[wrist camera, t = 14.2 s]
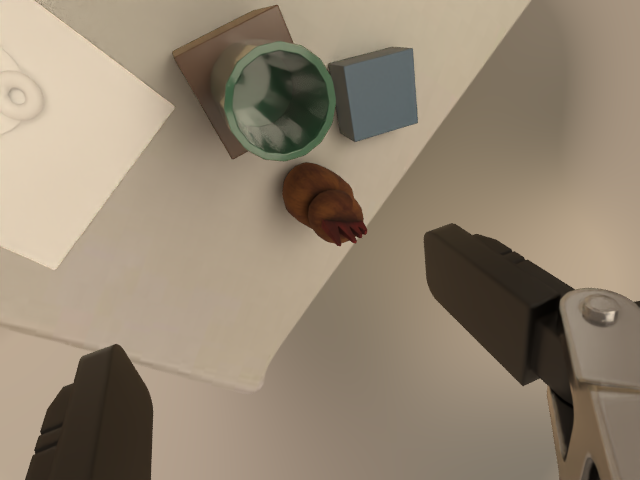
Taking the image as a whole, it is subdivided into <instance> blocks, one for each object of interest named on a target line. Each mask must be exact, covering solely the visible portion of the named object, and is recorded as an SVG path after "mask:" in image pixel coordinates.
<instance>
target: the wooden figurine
mask: <svg viewBox="0 0 640 480" xmlns="http://www.w3.org/2000/svg"><path fill="white" fill-rule="evenodd" d="M282 195H283V199H284V203H285V206H286V209H287V211H288V212H289V213H290V214H291V215H292V216H293V217H295V218H296V219H297V220H298V221H299V222H301V223H303V224H304V225H306V226H308V227H310V228H312V229H313V230H314V231H315V233H316V234H317V235H318V236H319V237H321V238H322V239H324V240H325V241H327V242H330V243H335V244H336V245H337V246H341V243H344V242H347V241H349V240H350V241H351V242H353V243H356V242H357V240H356V238H355V237H356V236H357V237H358V238H362V234H364V235H366V234H367V228H366V226H365V225H364V223H363V219H364V218H363V214H362V209H361V207H360V205H359V204H358V202H357V201H356V200H355V199H354V196H353V192H352V189H351V187H350V185H349V184H348V183H346V182H345V181H344V180H343V179H342V178H341V177H340V176H338V175H337V174H335V173H334V172H332V171H330V170H329V169H326V168H324V167H322V166H320V165H317V164H313V163H307V162H305V163H302V164H300V165H297V166H295V167H294V168H293V169H292V170H291V171H290V172H289V173H288V175H287V177H286V179H285V180H284V184H283V191H282Z"/></svg>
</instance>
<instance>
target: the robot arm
mask: <svg viewBox="0 0 640 480" xmlns="http://www.w3.org/2000/svg"><path fill="white" fill-rule="evenodd" d="M424 249H425V264H426V278H427V283H428V286H429V289H430V291H431V293H432V295H433V296H434V298H435V299H436V300H437V301H438V302H439V303H440V304H441V305H442V306H443V307H444V308H445V309H446V310H447V311H448V312H449V313H450V314H451V315H452V316H453V317H454V318H455V319H456V320H457V321H458V322H459V323H460V324H461V325H462V326H463V327H464V328H465V329H466V330H467V331H468V332H469V333H470V334H471V335H472V336H473V337H474V338H475V339H476V340H477V341H478V342H479V343H480V344H481V345H482V346H483V347H484V348H485V349H486V350H487V351H488V352H489V353H490V354H491V355H492V356H493V357H494V358H495V359H496V360H497V361H498V362H499V363H500V364H502V366H503V367H504V368H505V369H506V370H507V371H508V372H509V373H510V374H511V375H512V376H513V377H514V378H515V379H516V380H517V381H518V382H519V383H520V384H521V385H522V386H524V385H526V384H529V383H531V382H533V381H535V380H537V379H539V378H541V379H542V380H543V381H544V382H545V383H546V384H547V385H548V387H547V399H548V406H549V412H550V417H551V425H552V430H553V437H554V444H555V450H556V456H557V463H558V469H559V480H640V301H637V302H633V301H632V300H630V299H628V298H627V297H625V296H623V295H620V294H618V293H615V292H612V291H608V290H603V289H598V288H597V289H596V288H582V289H576V290H575V289H573V288H572V287H570V286H568V285H567V284H565V283H564V282H562V281H561V280H559V279H558V278H556V277H554V276H553V275H551V274H550V273H548V272H546V271H545V270H543V269H542V268H540V267H539V266H537V265H535V264H534V263H532V262H530V261H529V260H525V259H524V257H523V256H521V255H520V254H518V253H516V252H512V250H511V249H510V248H508V247H507V246H505V245H504V244H502V243H500V242H499V241H497V240H495V239H492V238H489V237H485V236H482V235H479V234H475V235H471V234H470V233H468V232H467V231H465V230H464V229H462V228H461V227H459V226H457V225H456V224H453V223H451V224H448V225H445V226H442V227H440V228H437V229H434V230H432V231H429V232H426V233H425V235H424ZM152 427H153V405H152V400H151V397H150V394H149V391H148V389H147V387H146V385H145V383H144V382H143V380H142V379H141V377H140V375H139V374H138V372H137V370H136V369H135V367H134V366H133V364H132V362H131V361H130V359H129V358H128V356H127V354H126V353H125V351H124V350H123V348H122V347H121V346H120V345H118V344H115V345H112V346H109V347H107V348H104V349H101V350H98V351H96V352H93V353H90V354H87V355H85V356H82V357H81V359H80V361H79V364H78V368H77V372H76V375H75V379H74V383H73V384H70V385H67V386H65V387H63V388H62V390H61V391H60V392H59V394H58V395H57V396H56V398H55V399H54V401H53V402H52V403H51V405H50V406H49V408H48V409H47V412H46V415H45V418H44V421H43V425H42V428H41V431H40V432H41V435H40V436H39V437H38V440H37V443H36V447H35V450H34V451H35V455H33V456H32V459H31V462H30V466H29V469H28V472H27V475H26V479H25V480H151V459H152V458H151V457H152V429H153V428H152Z"/></svg>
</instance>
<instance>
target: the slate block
mask: <svg viewBox="0 0 640 480" xmlns="http://www.w3.org/2000/svg"><path fill="white" fill-rule="evenodd" d="M329 69H330V75H331V77H332V80H333V85H334V91H335V97H336V110H337V116H338V122H339V128H340V133H341V134H343V135H344V136H346V137H348V138H349V139H351V140H353V141H354V142H357V141H360V140H363V139H366V138H370V137H373V136H376V135H380V134H383V133H386V132H389V131H393V130H396V129H399V128H403V127H406V126H409V125H412V124H416V123H418V117H417V103H416V88H415V73H414V59H413V48H401V47H390V48H386V49H382V50H378V51H375V52H371V53H367V54H363V55H359V56H355V57H352V58H348V59H344V60H340V61H336V62H333V63H329Z"/></svg>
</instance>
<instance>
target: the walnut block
mask: <svg viewBox="0 0 640 480" xmlns="http://www.w3.org/2000/svg"><path fill="white" fill-rule="evenodd" d="M247 39H265V40H276V41H283V42H288V43H293V41H292V38H291V36H290V34H289V31H288V29H287V26H286V24H285V21H284V19H283V16H282V14H281V11H280V9H279V7H278V5H274V6H270V7H265V8H261V9H257V10H253V11H251V12H249V13H247V14H245V15H243V16H241V17H239V18H237V19H235V20H233V21H231V22H229V23H227V24H225V25H223V26H221V27H219V28H217V29H215V30H214V31H212V32H210V33H208V34H206V35H204V36H202V37H200V38H198V39H196V40H194V41H192V42H190V43H188V44H186V45H184V46H182V47H180V48H178V49H176V50H174V51H173V52H172V53H173V56H174V59H175V61H176V63H177V64H178V66H179V68H180V70H181V71H182V73H183V75H184V77H185V78H186V80H187V82H188V84H189V85H190V87H191V89H192V91H193V92H194V94H195V96H196V97H197V99H198V101H199V103H200V104H201V106H202V108H203V110H204V111H205V113H206V115H207V117H208V118H209V120H210V122H211V124H212V125H213V127H214V129H215V130H216V132H217V134H218V136H219V137H220V139H221V141H222V143H223V144H224V146H225V148H226V150H227V151H228V153H229V155H230V157H231V158H232V159H235V158H236V157H238V156H240V155H242V154H244V153H246V152H248V150H246V149H245V148H244V147H243V146H242V145H241V143H240V142H239V141H238V140H237V138H236V137H235V136H234V135H233V134H232V132H231V131H230V129H229V128H228V126H227V125H226V123H225V121H224V120H223V118H222V117H221V115H220V114H219V112H218V111H217V109H216V107H215V104H214V101H213V99H212V95H211V90H210V77H211V72H212V68H213V66H214V63H215V61H216V60H217V58H218V56H219V55H220V54H221V53H222V52H223V51H224V50H225V49H226V48H227V47H229V46H230V45H232V44H233V43H235V42H238V41H241V40H247ZM293 44H294V43H293Z"/></svg>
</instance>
